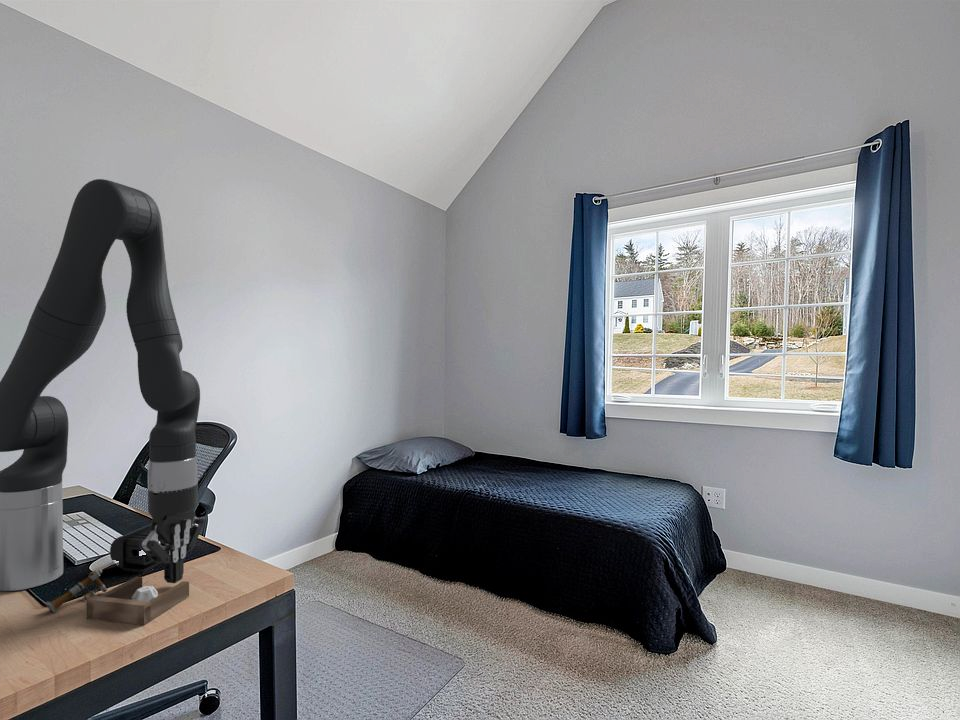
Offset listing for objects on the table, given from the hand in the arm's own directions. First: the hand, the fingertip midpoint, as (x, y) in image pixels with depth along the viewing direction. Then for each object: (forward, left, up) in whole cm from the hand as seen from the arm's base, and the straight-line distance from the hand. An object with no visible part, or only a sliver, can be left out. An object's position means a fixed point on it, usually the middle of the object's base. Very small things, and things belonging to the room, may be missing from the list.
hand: (173, 581), depth 89 cm
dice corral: (0, -7, -1) cm, 7 cm away
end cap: (-14, +8, -1) cm, 16 cm away
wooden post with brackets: (-12, -8, -1) cm, 14 cm away
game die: (+1, -7, -1) cm, 7 cm away
